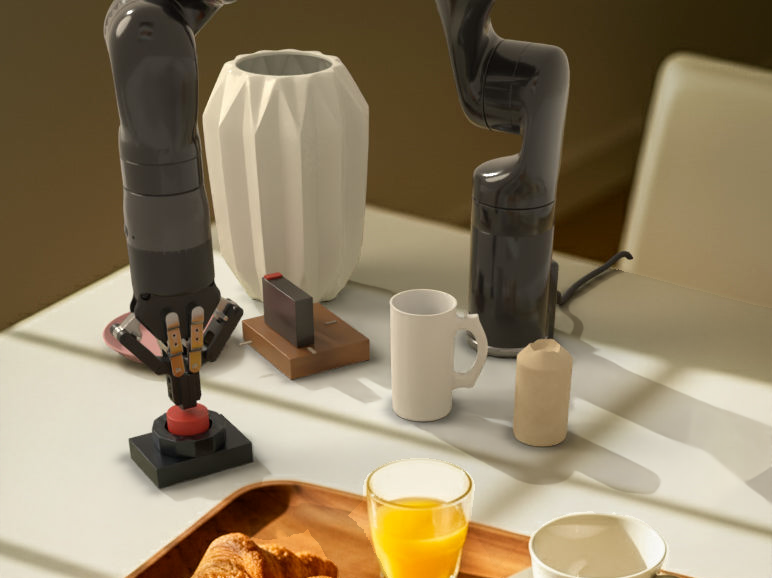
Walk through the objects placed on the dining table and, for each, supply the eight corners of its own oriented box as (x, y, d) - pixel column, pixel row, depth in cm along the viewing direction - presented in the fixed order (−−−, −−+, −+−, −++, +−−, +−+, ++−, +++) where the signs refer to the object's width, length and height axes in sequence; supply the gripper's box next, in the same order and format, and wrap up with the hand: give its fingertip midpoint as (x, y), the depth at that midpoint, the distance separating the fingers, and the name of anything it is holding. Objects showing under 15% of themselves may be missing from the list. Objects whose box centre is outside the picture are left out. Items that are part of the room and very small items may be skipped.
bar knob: (314, 343, 149) (313, 295, 146) (297, 348, 148) (295, 299, 145) (281, 318, 155) (278, 271, 152) (264, 322, 154) (261, 274, 151)
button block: (222, 432, 137) (220, 397, 135) (253, 462, 132) (251, 426, 130) (130, 457, 133) (126, 422, 131) (158, 489, 128) (154, 452, 126)
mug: (385, 421, 140) (385, 313, 133) (393, 391, 145) (393, 287, 139) (482, 427, 139) (487, 319, 132) (486, 397, 144) (491, 292, 138)
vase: (404, 291, 168) (405, 64, 153) (282, 336, 157) (270, 96, 142) (305, 249, 180) (296, 34, 164) (184, 287, 169) (163, 61, 153)
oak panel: (318, 321, 160) (317, 300, 159) (370, 359, 152) (370, 338, 150) (218, 345, 155) (216, 324, 153) (266, 387, 146) (264, 364, 145)
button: (199, 414, 133) (197, 398, 132) (216, 430, 130) (215, 414, 129) (161, 424, 131) (159, 408, 130) (178, 441, 128) (176, 425, 127)
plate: (83, 365, 150) (81, 348, 149) (135, 314, 162) (133, 299, 160) (204, 379, 147) (202, 363, 146) (248, 327, 159) (247, 311, 158)
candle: (563, 450, 135) (570, 358, 129) (509, 444, 136) (514, 353, 130) (569, 424, 139) (576, 335, 134) (516, 418, 140) (521, 330, 135)
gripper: (113, 261, 114) (136, 439, 124) (254, 231, 120) (265, 404, 130) (82, 233, 120) (106, 406, 129) (218, 206, 126) (231, 374, 135)
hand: (186, 405), depth 130 cm, fingers closed
